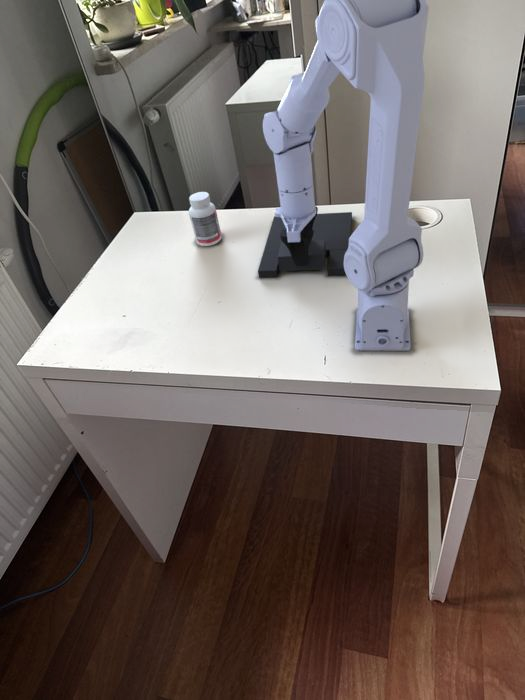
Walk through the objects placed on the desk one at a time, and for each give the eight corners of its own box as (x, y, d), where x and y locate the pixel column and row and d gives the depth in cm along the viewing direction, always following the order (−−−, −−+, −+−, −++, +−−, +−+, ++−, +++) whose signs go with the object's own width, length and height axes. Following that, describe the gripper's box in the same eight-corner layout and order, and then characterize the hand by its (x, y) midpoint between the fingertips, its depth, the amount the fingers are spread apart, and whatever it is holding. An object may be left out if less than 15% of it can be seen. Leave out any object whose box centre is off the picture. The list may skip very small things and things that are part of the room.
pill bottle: (226, 239, 107) (217, 195, 101) (204, 250, 105) (193, 205, 99) (213, 230, 111) (203, 187, 104) (192, 240, 109) (180, 197, 102)
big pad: (347, 275, 92) (347, 268, 91) (259, 277, 95) (257, 271, 94) (352, 218, 106) (352, 211, 105) (275, 222, 110) (274, 215, 109)
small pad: (324, 269, 92) (322, 255, 90) (279, 271, 94) (277, 256, 92) (326, 254, 96) (325, 240, 94) (283, 255, 98) (281, 241, 96)
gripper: (277, 167, 91) (286, 235, 100) (264, 208, 81) (275, 279, 90) (317, 164, 90) (323, 234, 99) (309, 205, 79) (316, 279, 88)
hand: (303, 255), depth 94 cm, fingers closed on small pad, 5 cm apart
